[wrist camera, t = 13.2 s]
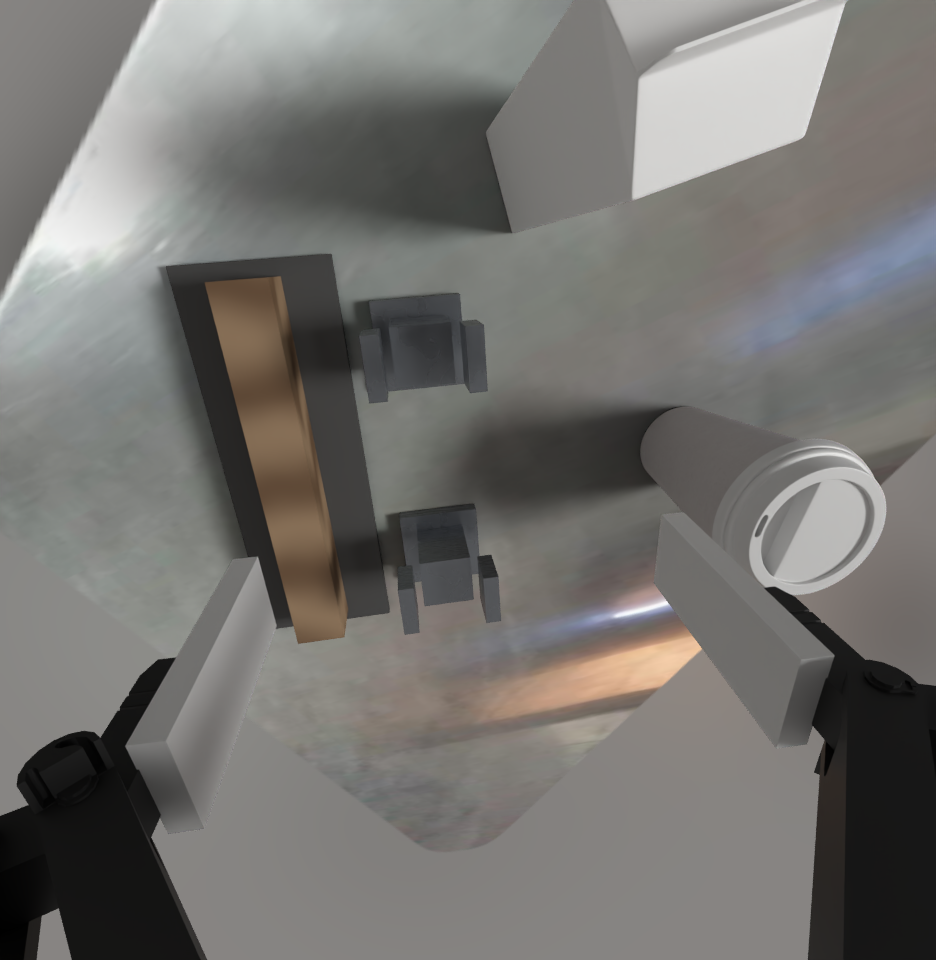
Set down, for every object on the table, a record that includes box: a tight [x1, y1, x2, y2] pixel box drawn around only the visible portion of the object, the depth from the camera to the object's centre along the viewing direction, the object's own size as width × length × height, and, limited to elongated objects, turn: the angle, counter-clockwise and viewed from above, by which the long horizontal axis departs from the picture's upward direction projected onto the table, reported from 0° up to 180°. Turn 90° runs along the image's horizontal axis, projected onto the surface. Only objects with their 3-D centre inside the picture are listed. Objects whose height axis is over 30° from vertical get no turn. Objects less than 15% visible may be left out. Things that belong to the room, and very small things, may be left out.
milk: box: [486, 0, 848, 233], centre depth 22 cm, size 6×6×22 cm
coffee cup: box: [640, 407, 886, 595], centre depth 34 cm, size 10×10×15 cm
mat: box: [166, 254, 389, 629], centre depth 38 cm, size 28×10×1 cm, turn 4°
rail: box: [205, 276, 348, 644], centre depth 36 cm, size 26×4×4 cm, turn 4°
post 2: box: [398, 504, 501, 635], centre depth 38 cm, size 6×7×9 cm
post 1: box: [359, 293, 488, 403], centre depth 32 cm, size 6×7×9 cm
